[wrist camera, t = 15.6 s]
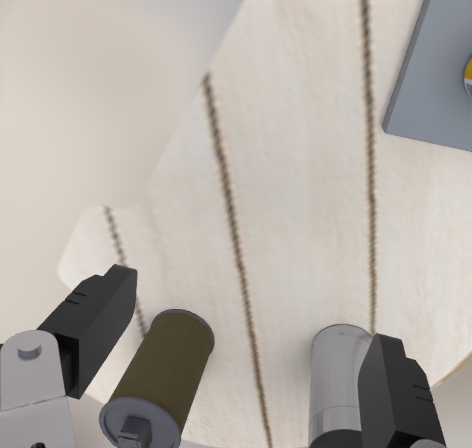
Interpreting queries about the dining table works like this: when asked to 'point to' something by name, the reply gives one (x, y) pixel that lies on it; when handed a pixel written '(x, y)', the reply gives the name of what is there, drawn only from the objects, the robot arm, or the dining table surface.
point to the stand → (435, 78)
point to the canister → (159, 383)
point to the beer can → (468, 77)
